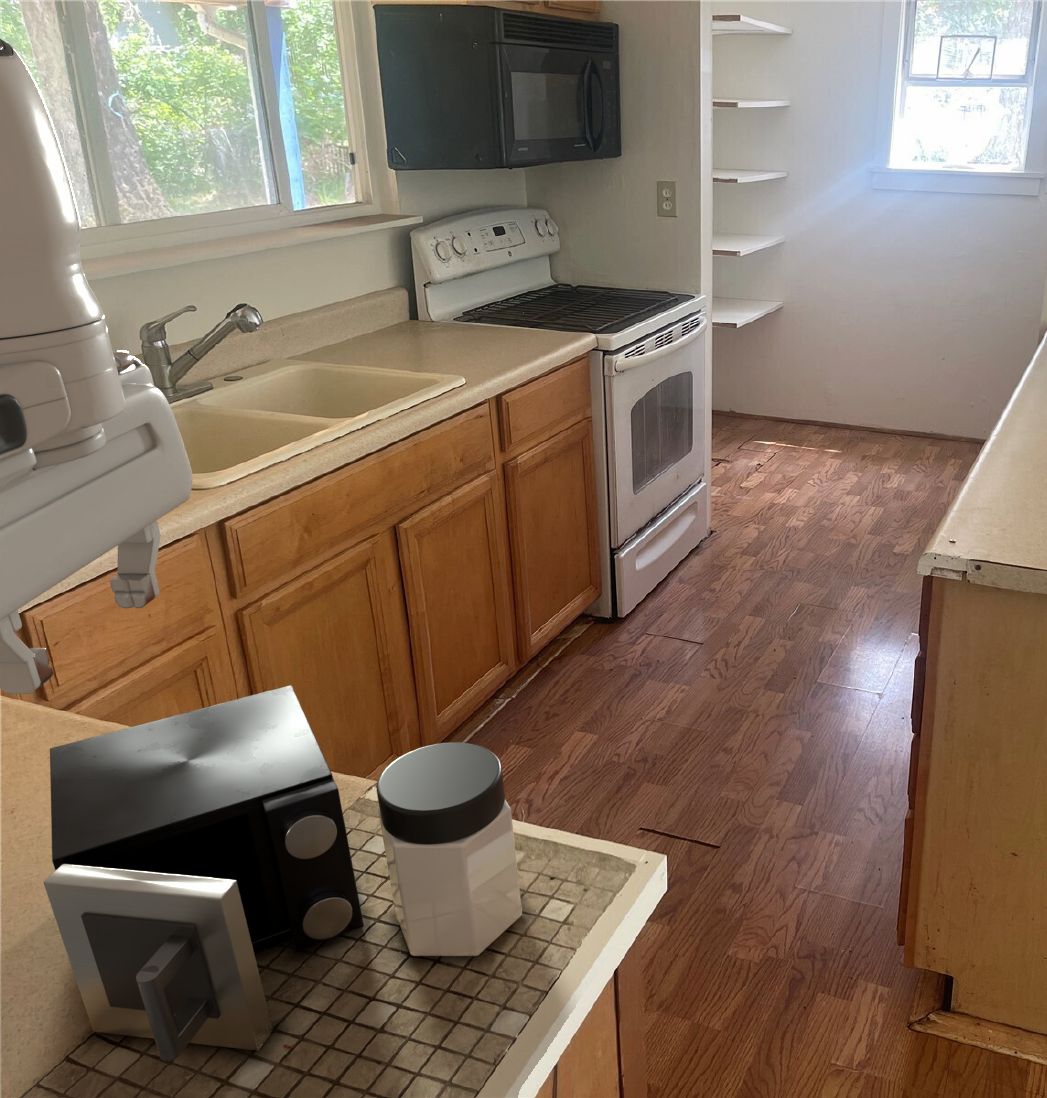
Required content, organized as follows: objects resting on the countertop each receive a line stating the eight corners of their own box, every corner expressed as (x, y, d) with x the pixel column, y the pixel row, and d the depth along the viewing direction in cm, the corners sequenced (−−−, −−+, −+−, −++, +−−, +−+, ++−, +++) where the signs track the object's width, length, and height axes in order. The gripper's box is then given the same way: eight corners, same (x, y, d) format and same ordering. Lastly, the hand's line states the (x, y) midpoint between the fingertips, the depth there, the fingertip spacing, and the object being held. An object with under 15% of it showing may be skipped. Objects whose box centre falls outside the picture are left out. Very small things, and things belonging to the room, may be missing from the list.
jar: (533, 877, 77) (519, 740, 72) (510, 959, 69) (493, 812, 65) (413, 877, 77) (392, 740, 72) (378, 959, 69) (351, 812, 65)
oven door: (224, 1103, 59) (180, 946, 54) (49, 1081, 60) (-8, 926, 56) (273, 1030, 64) (236, 879, 59) (110, 1011, 65) (62, 863, 61)
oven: (367, 936, 71) (340, 792, 67) (103, 1038, 63) (52, 883, 59) (316, 812, 84) (291, 684, 79) (92, 884, 76) (49, 748, 72)
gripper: (85, 343, 59) (142, 563, 64) (-240, 448, 40) (-122, 747, 46) (192, 342, 59) (240, 563, 64) (-86, 448, 40) (15, 748, 45)
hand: (88, 641), depth 55 cm, fingers open, 8 cm apart
